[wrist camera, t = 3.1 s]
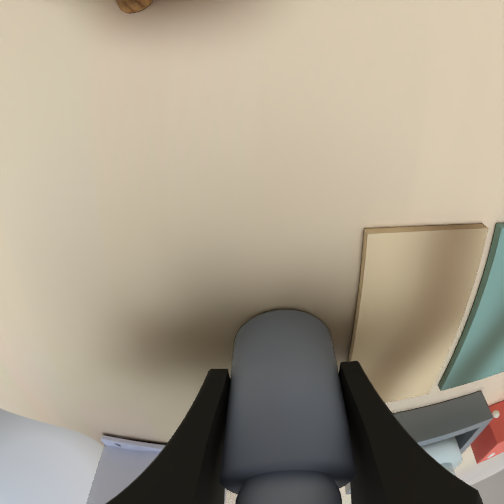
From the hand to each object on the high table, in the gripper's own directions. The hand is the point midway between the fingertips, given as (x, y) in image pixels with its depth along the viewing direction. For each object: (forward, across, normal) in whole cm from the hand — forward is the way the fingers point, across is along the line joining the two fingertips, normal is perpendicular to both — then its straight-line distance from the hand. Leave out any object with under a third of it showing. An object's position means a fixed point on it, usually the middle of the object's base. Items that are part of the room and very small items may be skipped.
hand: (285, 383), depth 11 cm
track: (+2, -12, 0) cm, 12 cm away
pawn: (+2, 0, 0) cm, 2 cm away
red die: (+2, -17, +12) cm, 21 cm away
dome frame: (+2, -9, +12) cm, 15 cm away
